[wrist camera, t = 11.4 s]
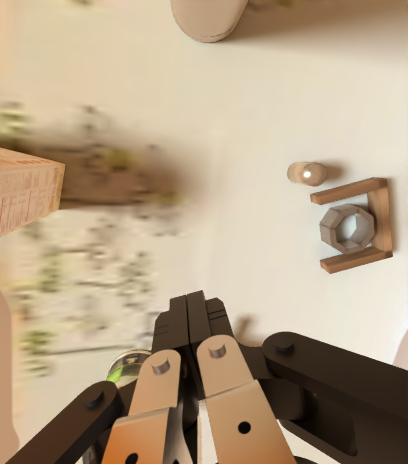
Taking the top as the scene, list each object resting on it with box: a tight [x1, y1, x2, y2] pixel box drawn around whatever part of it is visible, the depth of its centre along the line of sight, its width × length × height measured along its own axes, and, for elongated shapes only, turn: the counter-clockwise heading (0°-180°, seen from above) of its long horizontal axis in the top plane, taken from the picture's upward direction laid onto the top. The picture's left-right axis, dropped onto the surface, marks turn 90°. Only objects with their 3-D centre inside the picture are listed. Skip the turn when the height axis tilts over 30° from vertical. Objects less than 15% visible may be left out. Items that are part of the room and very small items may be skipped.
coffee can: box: [82, 350, 151, 464], centre depth 43 cm, size 10×10×14 cm
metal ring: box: [319, 204, 375, 254], centre depth 45 cm, size 7×7×3 cm
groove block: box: [310, 177, 393, 274], centre depth 44 cm, size 12×10×3 cm
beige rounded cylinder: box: [287, 162, 327, 186], centre depth 40 cm, size 3×3×6 cm
